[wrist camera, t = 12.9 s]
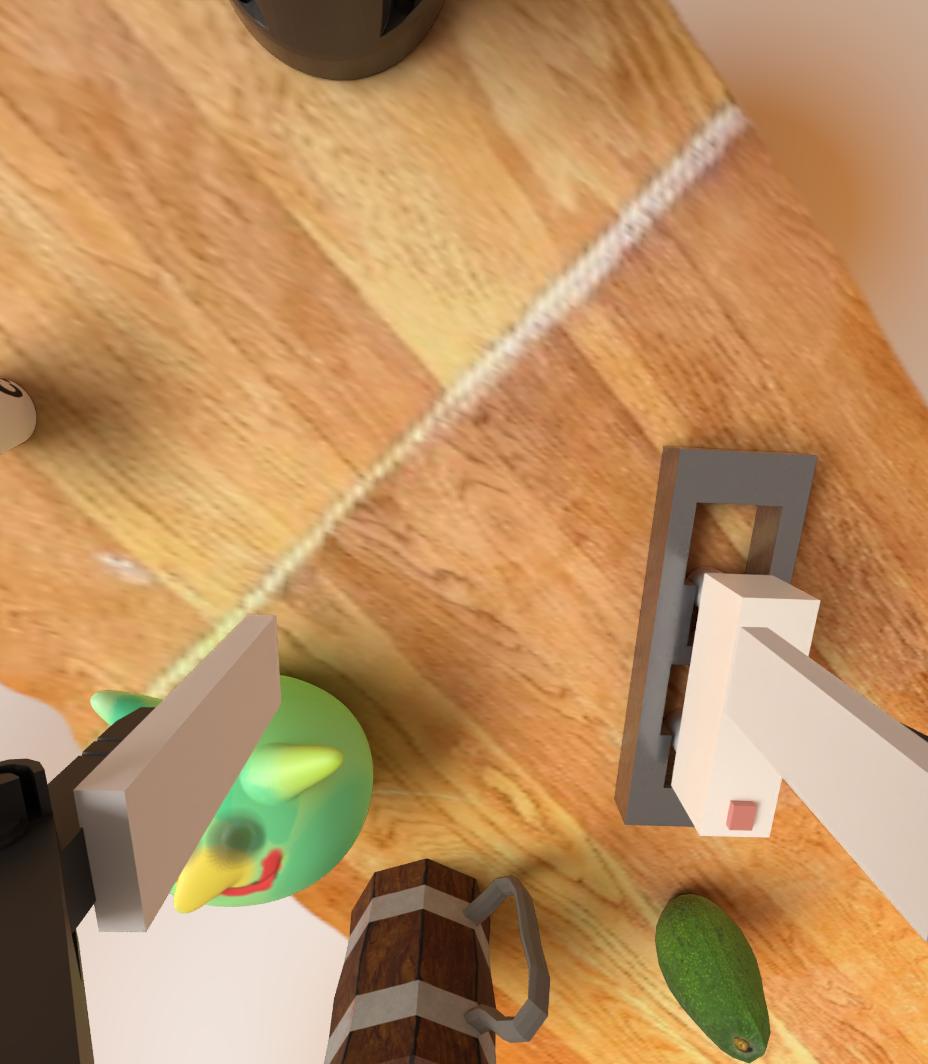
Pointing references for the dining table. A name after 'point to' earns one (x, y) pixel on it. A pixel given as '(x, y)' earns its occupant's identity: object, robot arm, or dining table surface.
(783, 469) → the keyhole plate
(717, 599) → the cream block with pegs
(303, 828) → the toy bird
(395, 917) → the mug
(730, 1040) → the fruit
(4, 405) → the cup
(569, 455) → the dining table surface
